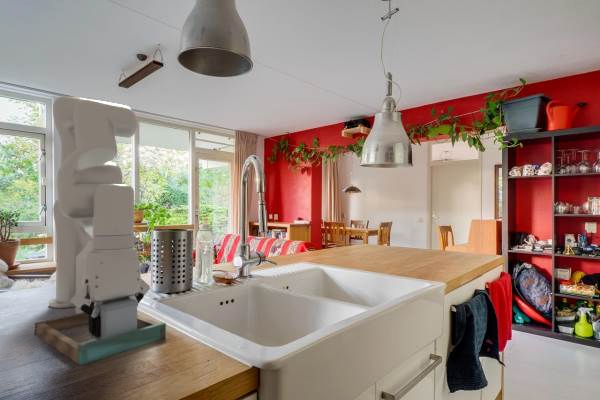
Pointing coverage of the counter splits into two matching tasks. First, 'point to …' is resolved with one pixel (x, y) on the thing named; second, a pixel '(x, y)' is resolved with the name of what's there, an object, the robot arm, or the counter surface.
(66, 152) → the robot arm
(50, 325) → the bay
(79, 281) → the milk carton
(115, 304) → the grey block
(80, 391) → the counter surface
